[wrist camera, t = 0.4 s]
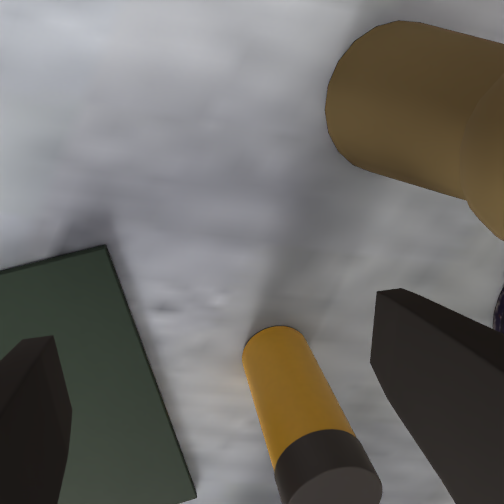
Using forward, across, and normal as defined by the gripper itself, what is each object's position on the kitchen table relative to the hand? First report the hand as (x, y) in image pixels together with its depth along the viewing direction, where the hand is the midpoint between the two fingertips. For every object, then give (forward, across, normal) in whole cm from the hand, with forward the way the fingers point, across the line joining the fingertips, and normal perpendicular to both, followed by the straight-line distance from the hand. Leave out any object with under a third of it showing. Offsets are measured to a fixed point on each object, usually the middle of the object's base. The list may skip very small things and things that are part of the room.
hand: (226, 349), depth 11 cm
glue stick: (+10, -4, +8) cm, 14 cm away
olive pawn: (+10, -9, -4) cm, 14 cm away
